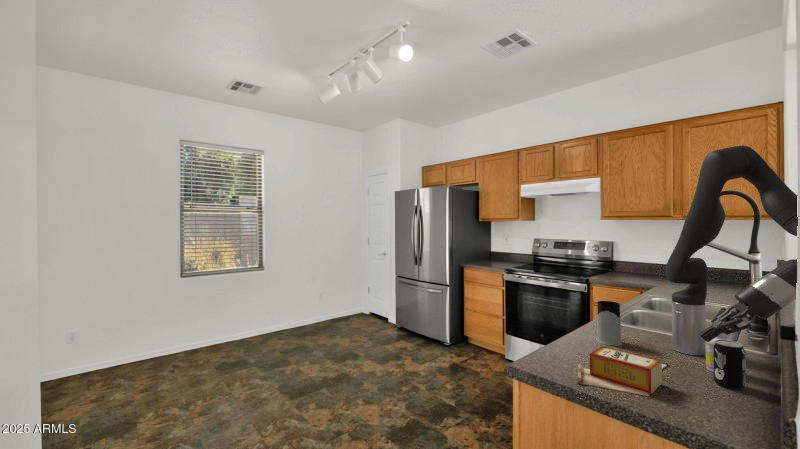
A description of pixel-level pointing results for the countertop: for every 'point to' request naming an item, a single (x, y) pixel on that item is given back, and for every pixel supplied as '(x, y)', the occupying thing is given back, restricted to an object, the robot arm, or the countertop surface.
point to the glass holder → (609, 323)
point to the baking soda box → (626, 369)
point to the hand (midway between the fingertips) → (703, 338)
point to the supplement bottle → (710, 350)
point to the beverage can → (729, 364)
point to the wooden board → (603, 382)
